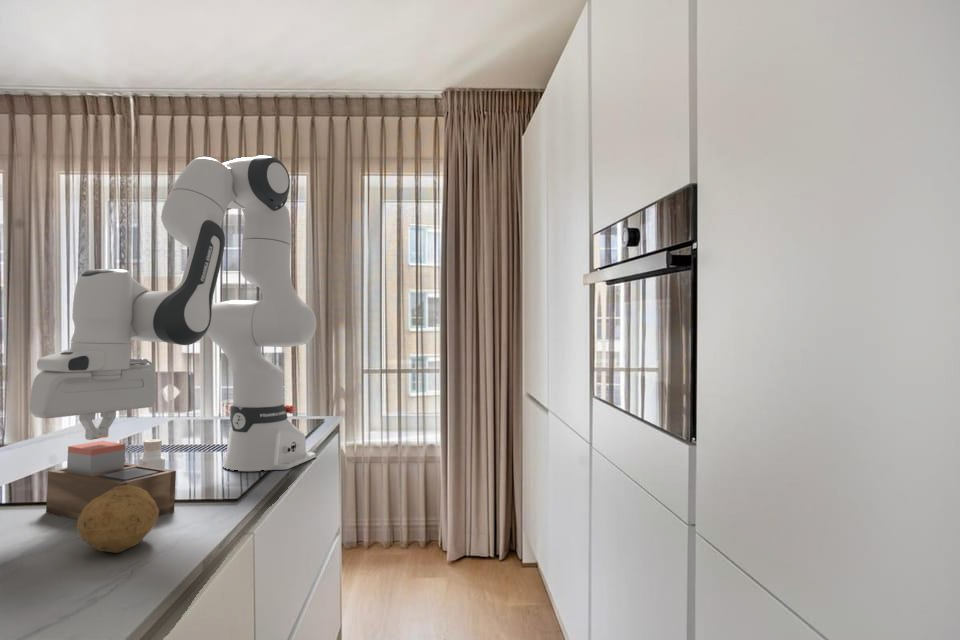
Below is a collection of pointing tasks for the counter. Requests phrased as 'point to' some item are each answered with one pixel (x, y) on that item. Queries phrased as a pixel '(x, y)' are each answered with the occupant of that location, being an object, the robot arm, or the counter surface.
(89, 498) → the wooden divided tray
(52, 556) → the counter surface
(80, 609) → the counter surface
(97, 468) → the red and grey cube
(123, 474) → the grey cube
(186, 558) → the counter surface
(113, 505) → the potato
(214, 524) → the counter surface
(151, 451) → the pepper shaker
